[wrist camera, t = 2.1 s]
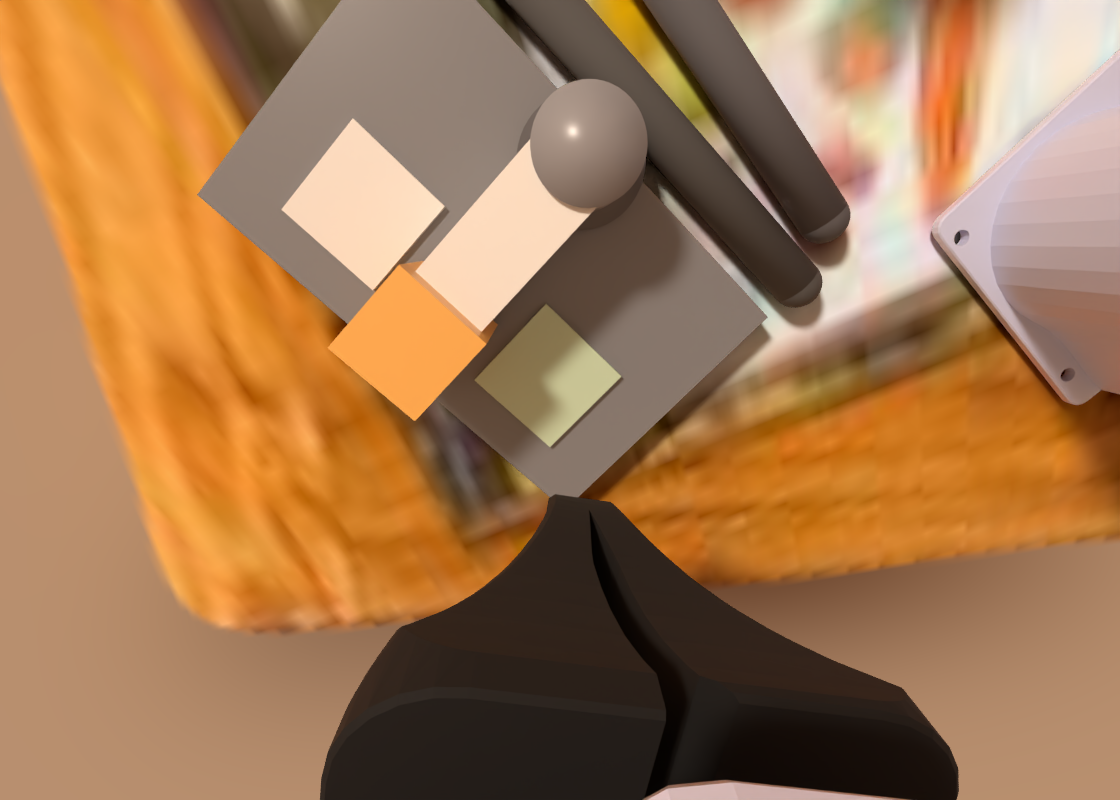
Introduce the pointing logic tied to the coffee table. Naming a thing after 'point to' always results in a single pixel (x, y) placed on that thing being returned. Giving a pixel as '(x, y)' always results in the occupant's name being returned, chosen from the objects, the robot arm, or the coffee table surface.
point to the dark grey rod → (678, 148)
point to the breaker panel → (443, 199)
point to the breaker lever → (496, 246)
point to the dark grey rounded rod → (754, 114)
